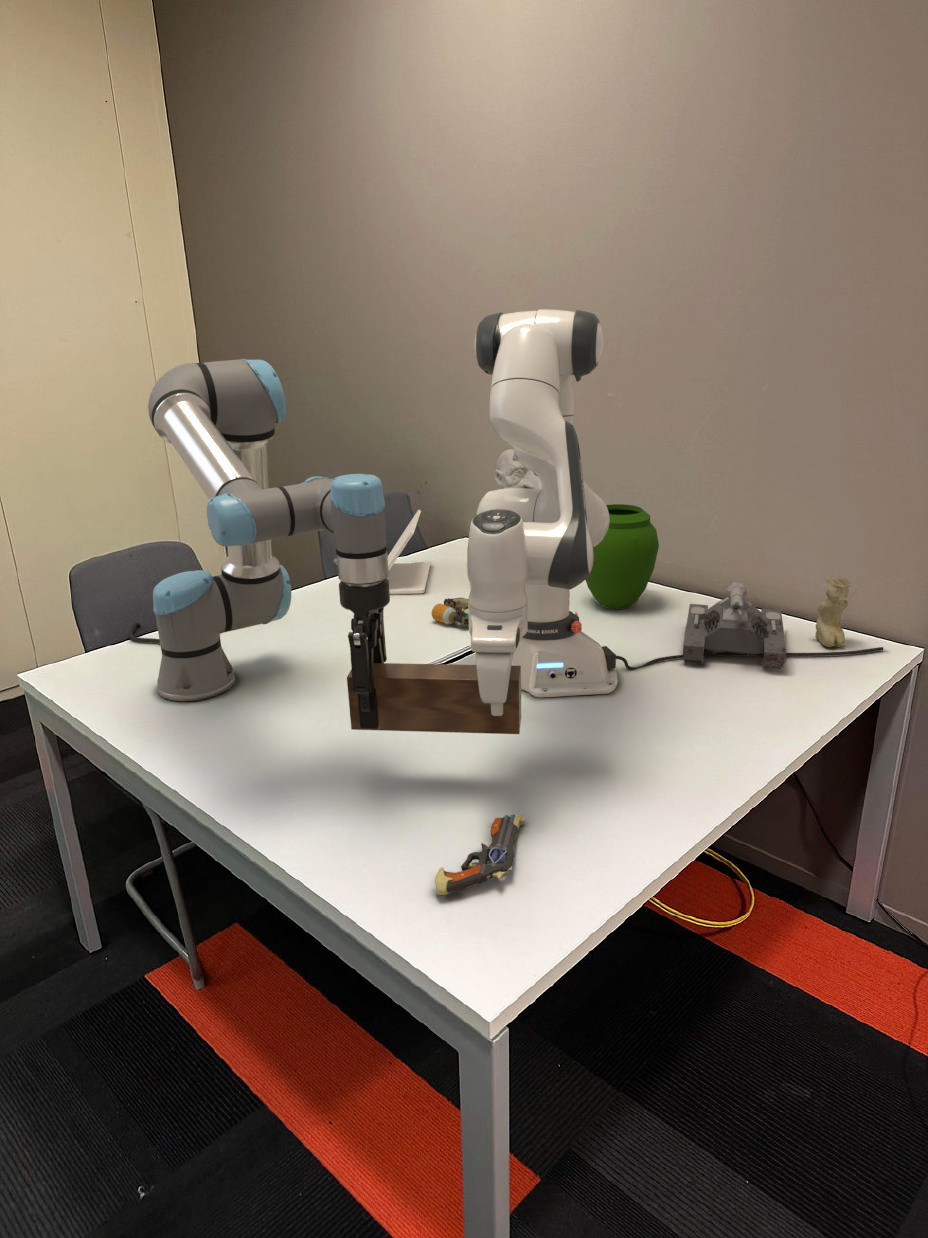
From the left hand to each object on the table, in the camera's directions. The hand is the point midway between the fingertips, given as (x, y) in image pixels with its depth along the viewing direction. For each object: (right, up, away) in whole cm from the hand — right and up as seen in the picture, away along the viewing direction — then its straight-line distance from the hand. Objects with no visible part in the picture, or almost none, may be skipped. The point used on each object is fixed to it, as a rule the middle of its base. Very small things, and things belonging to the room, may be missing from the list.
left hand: (373, 717), depth 136 cm
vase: (+53, +19, +78) cm, 96 cm away
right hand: (+20, +3, -4) cm, 20 cm away
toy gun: (+17, -18, -17) cm, 30 cm away
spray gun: (+14, +16, +73) cm, 76 cm away
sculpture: (+94, +10, +51) cm, 108 cm away
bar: (+10, -1, -1) cm, 10 cm away
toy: (+73, +9, +51) cm, 89 cm away
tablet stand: (-5, +27, +103) cm, 106 cm away
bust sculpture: (+31, +28, +103) cm, 111 cm away
